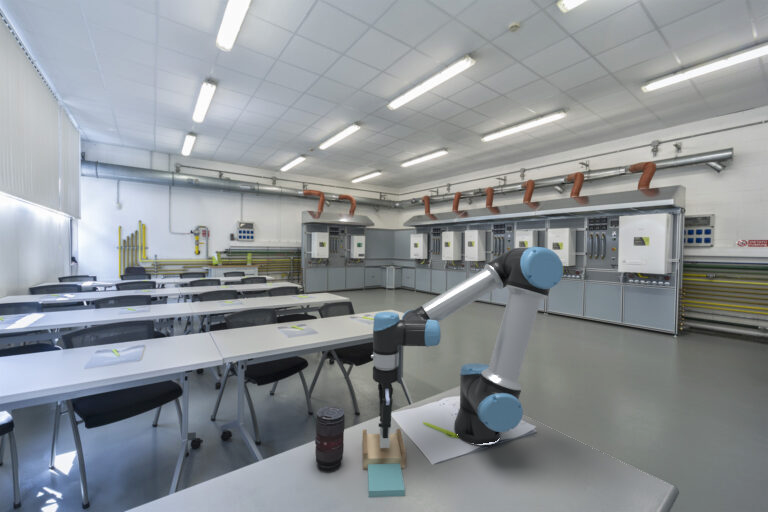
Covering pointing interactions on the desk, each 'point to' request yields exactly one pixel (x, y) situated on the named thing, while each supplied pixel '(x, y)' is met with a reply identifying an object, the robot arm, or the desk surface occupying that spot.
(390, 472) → the cover plate
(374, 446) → the wooden channel tray
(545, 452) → the desk surface
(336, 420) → the camera lens
